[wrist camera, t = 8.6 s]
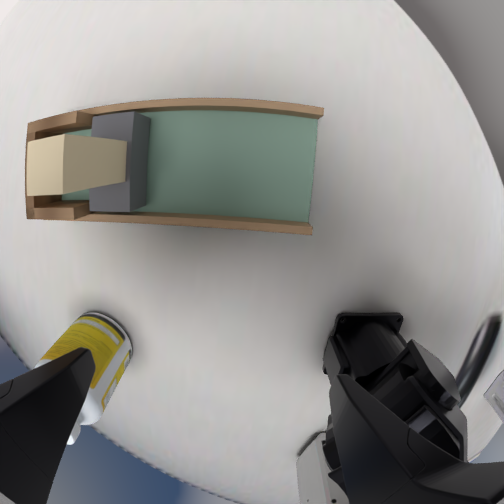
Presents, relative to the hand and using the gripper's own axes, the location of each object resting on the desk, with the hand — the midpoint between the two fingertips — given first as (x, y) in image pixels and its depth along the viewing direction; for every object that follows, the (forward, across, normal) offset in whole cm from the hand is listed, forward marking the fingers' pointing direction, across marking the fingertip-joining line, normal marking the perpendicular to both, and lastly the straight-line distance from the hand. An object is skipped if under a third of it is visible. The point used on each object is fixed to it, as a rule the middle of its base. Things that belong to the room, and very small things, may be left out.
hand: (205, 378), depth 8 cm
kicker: (+11, +7, -7) cm, 15 cm away
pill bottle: (+12, +12, +9) cm, 19 cm away
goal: (+12, +12, -7) cm, 19 cm away
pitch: (+12, +5, -7) cm, 15 cm away
